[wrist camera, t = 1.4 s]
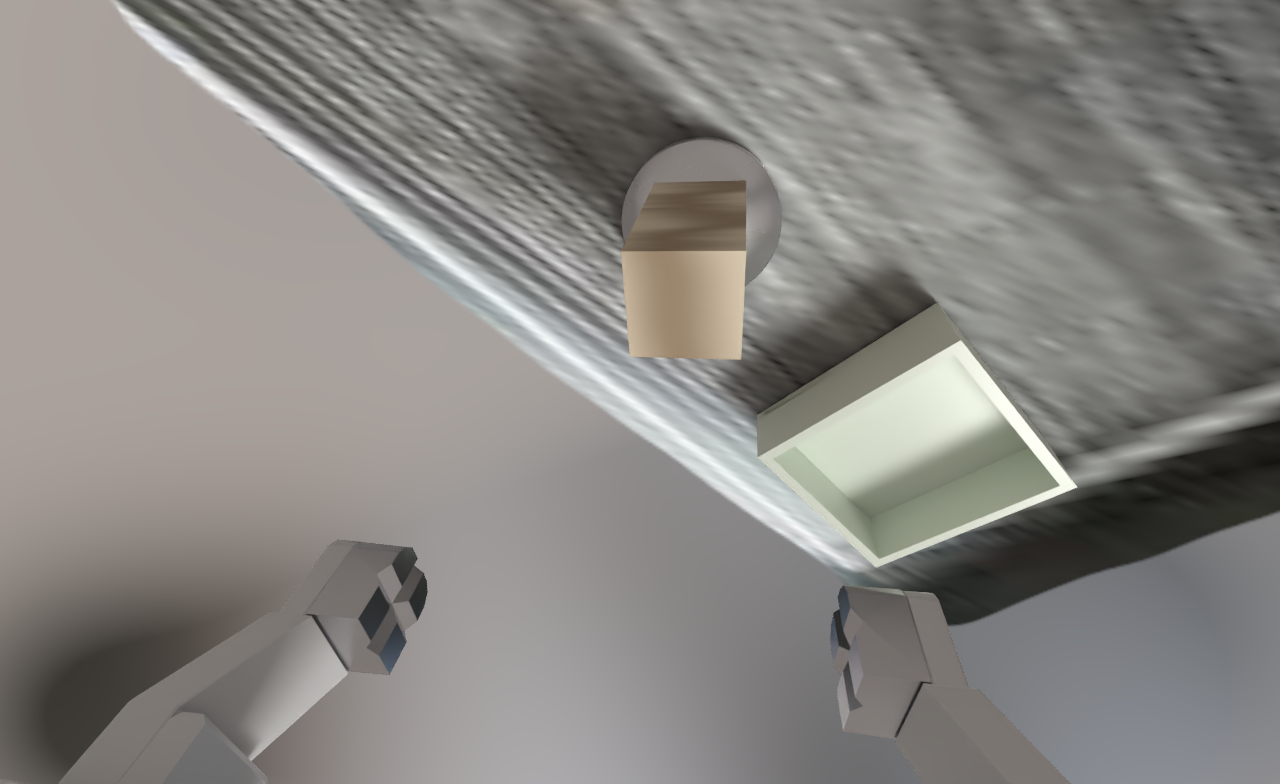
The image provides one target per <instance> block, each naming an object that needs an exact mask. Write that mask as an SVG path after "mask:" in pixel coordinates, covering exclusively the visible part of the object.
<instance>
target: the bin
mask: <svg viewBox="0 0 1280 784" xmlns="http://www.w3.org/2000/svg"><path fill="white" fill-rule="evenodd" d="M757 449H758V458H759V459H760V460H761V461H762V462H763V463H764V464H765V465H766V466H768V467H769V468H770V469H771V470H772V471H773V472H774V473H775V474H776V475H777V476H778V477H779V478H780V479H781V480H783V481H784V482H785V483H786V484H787V485H788V486H789V487H790V488H791V489H792V490H793V491H794V492H795V493H797V494H798V495H799V496H800V497H801V498H802V499H803V500H804V501H805V502H806V503H807V504H808V505H809V506H811V507H812V508H813V509H814V510H815V511H816V512H817V513H818V514H819V515H820V516H821V517H822V518H823V519H825V520H826V521H827V522H828V523H829V524H830V525H831V526H832V527H833V528H834V529H835V530H836V531H837V532H839V533H840V534H841V535H842V536H843V537H844V538H845V539H846V540H847V541H848V542H849V543H850V544H851V545H853V546H854V547H855V548H856V549H857V550H858V551H859V552H860V553H861V554H862V555H863V556H864V557H865V558H867V559H868V560H869V561H870V562H871V563H872V564H873V565H874V566H875V567H878V566H881V565H883V564H886V563H888V562H891V561H893V560H896V559H899V558H901V557H904V556H906V555H909V554H911V553H914V552H916V551H919V550H921V549H924V548H926V547H929V546H931V545H934V544H936V543H939V542H941V541H944V540H946V539H949V538H951V537H954V536H956V535H959V534H961V533H964V532H966V531H969V530H971V529H974V528H976V527H979V526H981V525H984V524H986V523H989V522H991V521H994V520H996V519H999V518H1001V517H1004V516H1007V515H1009V514H1012V513H1014V512H1017V511H1019V510H1022V509H1024V508H1027V507H1029V506H1032V505H1034V504H1037V503H1039V502H1042V501H1044V500H1047V499H1049V498H1052V497H1054V496H1057V495H1059V494H1062V493H1064V492H1067V491H1069V490H1072V489H1074V488H1077V486H1076V485H1075V483H1074V482H1073V480H1072V479H1071V477H1070V476H1069V474H1068V473H1067V471H1066V470H1065V468H1064V467H1063V465H1062V464H1061V462H1060V461H1059V459H1058V458H1057V456H1056V455H1055V453H1054V452H1053V450H1052V449H1051V447H1050V446H1049V444H1048V443H1047V441H1046V440H1045V439H1044V437H1043V436H1042V435H1041V434H1040V432H1039V431H1038V430H1037V428H1036V427H1035V426H1034V425H1033V423H1032V422H1031V421H1030V420H1029V418H1028V417H1027V416H1026V414H1025V413H1024V412H1023V411H1022V409H1021V408H1020V407H1019V406H1018V404H1017V403H1016V402H1015V400H1014V399H1013V398H1012V397H1011V395H1010V394H1009V393H1008V392H1007V390H1006V389H1005V388H1004V386H1003V385H1002V384H1001V383H1000V381H999V380H998V379H997V378H996V376H995V375H994V374H993V372H992V371H991V370H990V369H989V367H988V366H987V365H986V364H985V362H984V361H983V360H982V358H981V357H980V356H979V355H978V353H977V352H976V351H975V350H974V348H973V347H972V346H971V344H970V343H969V342H968V341H967V339H966V338H965V337H964V336H963V334H962V333H961V332H960V330H959V329H958V328H957V327H956V325H955V324H954V323H953V322H952V320H951V319H950V318H949V316H948V315H947V314H946V313H945V311H944V310H943V309H942V308H941V306H940V305H939V304H938V302H937V303H935V304H934V305H932V306H931V307H929V308H927V309H926V310H924V311H923V312H921V313H919V314H918V315H916V316H915V317H913V318H911V319H910V320H908V321H907V322H905V323H903V324H902V325H900V326H899V327H897V328H895V329H894V330H892V331H891V332H889V333H887V334H886V335H884V336H883V337H881V338H880V339H878V340H876V341H875V342H873V343H872V344H870V345H868V346H867V347H865V348H864V349H862V350H860V351H859V352H857V353H856V354H854V355H852V356H851V357H849V358H848V359H846V360H844V361H843V362H841V363H840V364H838V365H836V366H835V367H833V368H832V369H830V370H828V371H827V372H825V373H824V374H822V375H820V376H819V377H817V378H816V379H814V380H812V381H811V382H809V383H808V384H806V385H804V386H803V387H801V388H800V389H798V390H796V391H795V392H793V393H792V394H790V395H788V396H787V397H785V398H784V399H782V400H780V401H779V402H777V403H776V404H774V405H772V406H771V407H769V408H768V409H766V410H764V411H763V412H761V413H760V414H758V415H757Z"/></svg>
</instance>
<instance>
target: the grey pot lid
mask: <svg viewBox="0 0 1280 784" xmlns="http://www.w3.org/2000/svg"><path fill="white" fill-rule="evenodd" d="M743 180H746V267H745V286H746V285H747V284H749V283H750V282H751V281H752V280H754V279H755V278H756V277H757V276H758V275H759V274H760V273H761V272H762V271H763V269H764V268H765V267H766V266H767V264H768V263H769V261H770V259H771V258H772V256H773V254H774V252H775V249H776V247H777V244H778V241H779V237H780V231H781V207H780V200H779V196H778V192H777V188H776V186H775V184H774V181H773V179H772V177H771V175H770V174H769V172H768V170H767V169H766V168H765V166H764V165H763V164H762V163H761V161H760V160H759V159H757V158H756V157H755V156H754V155H753V154H752V153H751V152H749V151H748V150H746V149H745V148H743V147H741V146H739V145H737V144H735V143H733V142H730V141H727V140H724V139H719V138H714V137H695V138H688V139H684V140H680V141H677V142H675V143H672V144H670V145H668V146H666V147H665V148H663V149H661V150H660V151H658V152H657V153H656V154H654V155H653V156H652V157H651V158H650V159H649V160H648V161H647V162H646V163H645V164H644V165H643V166H642V168H641V169H640V170H639V172H638V173H637V175H636V176H635V178H634V180H633V181H632V183H631V185H630V187H629V189H628V192H627V194H626V197H625V200H624V205H623V210H622V232H623V238H624V242H626V240H627V238H628V236H629V234H630V232H631V230H632V228H633V226H634V224H635V222H636V219H637V217H638V215H639V213H640V211H641V209H642V207H643V205H644V203H645V201H646V199H647V197H648V195H649V193H650V191H651V189H652V186H653V184H654V183H661V182H702V181H743Z"/></svg>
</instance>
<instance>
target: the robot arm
mask: <svg viewBox="0 0 1280 784" xmlns="http://www.w3.org/2000/svg"><path fill="white" fill-rule="evenodd" d="M417 559H418V558H417V556H416V554H415V552H414V550H413V548H411V547H402V546H393V545H384V544H375V543H366V542H356V541H346V540H336V541H335V542H333V543H332V544H330V545H329V546H328V547H327V548H326V549H325V551H324V552H323V553H322V555H321V556H320V557H319V559H318V560H317V561H316V563H315V564H314V565H313V567H312V568H311V569H310V571H309V572H308V573H307V575H306V576H305V577H304V579H303V580H302V581H301V583H300V584H299V585H298V587H297V588H296V589H295V591H294V592H293V593H292V595H291V596H290V597H289V599H288V600H287V601H286V603H285V604H284V605H283V607H282V608H281V609H280V611H279V612H276V611H271V612H270V613H268V614H266V615H265V616H263V617H262V618H260V619H258V620H257V621H255V622H254V623H252V624H251V625H249V626H247V627H246V628H244V629H243V630H241V631H240V632H238V633H236V634H235V635H233V636H232V637H230V638H229V639H227V640H225V641H224V642H222V643H221V644H219V645H217V646H216V647H214V648H213V649H211V650H210V651H208V652H206V653H205V654H203V655H201V656H200V657H198V658H197V659H195V660H194V661H192V662H191V663H189V664H187V665H186V666H184V667H183V668H181V669H180V670H178V671H176V672H175V673H173V674H171V675H170V676H168V677H167V678H165V679H164V680H162V681H160V682H159V683H157V684H156V685H154V686H152V687H151V688H150V689H148V690H146V691H145V692H143V693H141V694H140V695H138V696H137V697H135V698H134V699H132V700H130V701H129V702H128V703H127V704H126V706H125V707H124V708H123V709H122V710H121V712H120V713H119V714H118V715H117V716H116V717H115V719H114V720H113V721H112V722H111V723H110V724H109V725H108V726H107V728H106V729H105V730H104V731H103V732H102V733H101V735H100V736H99V737H98V738H97V739H96V740H95V741H94V743H93V744H92V745H91V746H90V747H89V748H88V749H87V751H86V752H85V753H84V754H83V755H82V756H81V758H80V759H79V760H78V761H77V762H76V764H74V766H73V767H72V768H71V769H70V770H69V771H68V773H67V774H66V775H65V776H64V777H63V778H62V779H61V781H60V782H59V783H58V784H267V777H266V776H265V775H264V774H263V773H262V772H261V771H260V770H259V769H258V768H257V767H256V766H255V765H254V764H253V763H252V762H251V761H252V760H253V759H254V758H255V757H256V756H257V755H258V754H259V753H260V752H262V751H263V750H264V749H265V748H266V747H267V746H268V745H269V744H270V743H272V742H273V741H274V740H275V739H276V738H277V737H278V736H279V735H281V734H282V733H283V732H284V731H285V730H286V729H287V728H288V727H290V726H291V725H292V724H293V723H294V722H295V721H296V720H297V719H298V718H300V716H302V715H303V714H304V713H305V712H306V711H307V710H308V709H310V708H311V707H312V706H313V705H314V704H315V703H316V702H317V701H318V700H320V699H321V698H322V697H323V696H324V695H325V694H326V693H327V692H328V691H330V690H331V689H332V688H333V687H334V686H335V685H336V684H337V683H338V682H340V681H341V680H342V679H343V678H344V677H345V676H346V675H347V674H348V672H347V671H351V672H362V673H374V674H384V675H390V673H391V671H392V669H393V667H394V666H395V663H396V662H397V660H398V658H399V656H400V654H401V652H402V650H403V648H404V646H405V644H406V636H405V630H406V629H407V628H409V627H410V626H411V625H413V624H414V623H415V622H416V621H418V619H419V617H420V615H421V612H422V610H423V608H424V605H425V601H426V597H427V592H428V591H427V580H426V578H425V576H424V573H423V572H421V571H420V570H419V569H418V568H417V567H415V566H414V564H415V562H416V561H417ZM838 603H839V610H837V611H835V612H834V613H833V617H832V622H831V632H830V645H831V655H832V663H833V666H834V668H835V669H836V670H837V672H838V673H839V674H840V675H841V679H840V682H839V686H838V689H837V696H838V702H839V709H840V715H841V721H842V728H843V731H845V732H852V733H859V734H865V735H872V736H878V737H885V738H892V739H896V740H895V743H896V744H897V746H898V747H899V749H900V750H901V751H902V753H903V754H904V756H905V757H906V759H907V760H908V762H909V763H910V765H911V766H912V767H913V769H914V770H915V772H916V773H917V775H918V776H919V778H920V779H921V780H922V782H923V783H924V784H1070V782H1069V781H1068V780H1067V779H1066V778H1065V777H1064V776H1063V775H1062V774H1061V773H1060V772H1059V771H1058V770H1057V769H1056V768H1055V767H1054V766H1053V765H1052V764H1051V763H1050V762H1049V761H1048V760H1047V759H1046V758H1045V757H1044V756H1043V755H1042V754H1041V753H1040V752H1039V750H1038V749H1036V747H1035V746H1034V745H1033V744H1032V743H1031V742H1030V741H1029V740H1028V739H1027V738H1026V737H1025V736H1024V735H1023V734H1022V733H1021V732H1020V731H1019V730H1018V729H1017V728H1016V727H1015V726H1014V725H1013V724H1012V723H1011V722H1010V721H1009V720H1008V719H1007V718H1006V717H1005V716H1004V715H1003V713H1002V712H1000V710H998V708H996V707H995V705H994V704H993V703H992V702H991V701H990V700H989V699H988V698H987V697H986V696H985V695H984V694H983V693H982V692H981V691H980V690H978V689H972V688H969V686H968V683H967V680H966V677H965V675H964V671H963V668H962V666H961V663H960V660H959V657H958V654H957V651H956V649H955V646H954V643H953V640H952V637H951V634H950V631H949V629H948V626H947V623H946V620H945V617H944V614H943V611H942V608H941V606H940V603H939V600H938V599H937V597H936V596H935V595H934V594H932V593H925V592H911V591H901V590H898V589H884V588H871V587H857V586H844V585H843V586H842V587H841V588H840V591H839V595H838ZM0 784H27V783H21V782H16V781H9V780H4V779H0Z"/></svg>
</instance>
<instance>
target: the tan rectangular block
mask: <svg viewBox="0 0 1280 784" xmlns="http://www.w3.org/2000/svg"><path fill="white" fill-rule="evenodd" d="M621 257H622V269H623V280H624V292H625V304H626V315H627V327H628V338H629V350H630V357H665V358H702V359H739V360H741V350H742V330H743V309H744V288H745V267H746V180H743V181H702V182H661V183H654V184H653V186H652V189H651V191H650V193H649V195H648V197H647V199H646V201H645V203H644V205H643V207H642V209H641V211H640V213H639V215H638V217H637V219H636V222H635V224H634V226H633V228H632V230H631V232H630V234H629V236H628V238H627V240H626V242H625V244H624V246H623V248H622V250H621Z"/></svg>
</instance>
